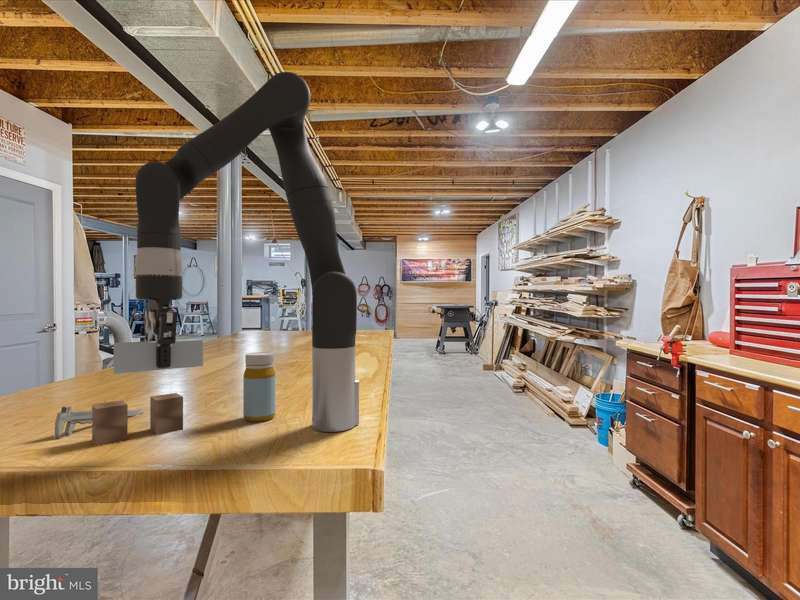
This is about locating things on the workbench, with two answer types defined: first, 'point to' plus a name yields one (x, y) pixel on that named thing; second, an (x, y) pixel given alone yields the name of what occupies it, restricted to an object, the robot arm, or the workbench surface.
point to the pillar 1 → (109, 422)
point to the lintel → (144, 355)
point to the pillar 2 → (166, 413)
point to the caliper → (77, 419)
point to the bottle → (259, 387)
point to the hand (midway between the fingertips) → (159, 365)
